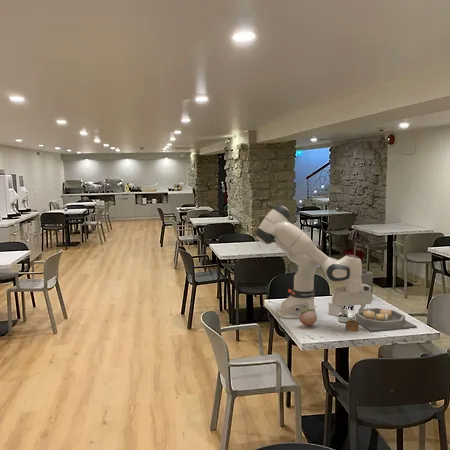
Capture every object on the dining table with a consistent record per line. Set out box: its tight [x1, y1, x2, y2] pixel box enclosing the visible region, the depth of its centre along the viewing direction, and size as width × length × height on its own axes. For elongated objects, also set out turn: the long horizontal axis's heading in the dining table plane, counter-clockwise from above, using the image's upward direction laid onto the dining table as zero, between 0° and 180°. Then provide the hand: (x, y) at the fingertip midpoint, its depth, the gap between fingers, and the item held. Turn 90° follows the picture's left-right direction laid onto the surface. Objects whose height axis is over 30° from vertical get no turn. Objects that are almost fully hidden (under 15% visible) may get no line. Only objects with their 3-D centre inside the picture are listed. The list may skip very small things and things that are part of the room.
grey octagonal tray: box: [354, 307, 418, 333], centre depth 241 cm, size 26×26×6 cm
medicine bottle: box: [328, 293, 341, 317], centre depth 255 cm, size 7×7×12 cm
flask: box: [361, 268, 374, 294], centre depth 282 cm, size 15×6×20 cm, turn 118°
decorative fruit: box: [298, 308, 318, 328], centre depth 235 cm, size 9×8×10 cm
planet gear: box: [345, 319, 360, 332], centre depth 230 cm, size 6×6×4 cm
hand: (352, 313), depth 229 cm, fingers open, 8 cm apart
